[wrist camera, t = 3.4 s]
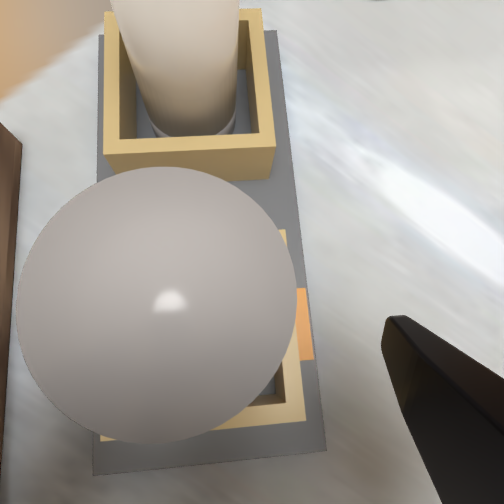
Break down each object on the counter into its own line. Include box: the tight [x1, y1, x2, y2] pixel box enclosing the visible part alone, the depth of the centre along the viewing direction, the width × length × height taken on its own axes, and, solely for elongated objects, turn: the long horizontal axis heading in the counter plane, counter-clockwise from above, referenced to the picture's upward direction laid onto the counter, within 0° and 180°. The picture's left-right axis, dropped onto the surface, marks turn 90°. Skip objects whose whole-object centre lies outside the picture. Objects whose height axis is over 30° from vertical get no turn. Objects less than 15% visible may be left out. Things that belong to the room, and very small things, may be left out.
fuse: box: [110, 0, 239, 138], centre depth 13 cm, size 4×4×11 cm
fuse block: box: [93, 8, 327, 476], centre depth 17 cm, size 20×9×4 cm, turn 5°
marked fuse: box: [16, 167, 297, 444], centre depth 11 cm, size 4×4×11 cm
